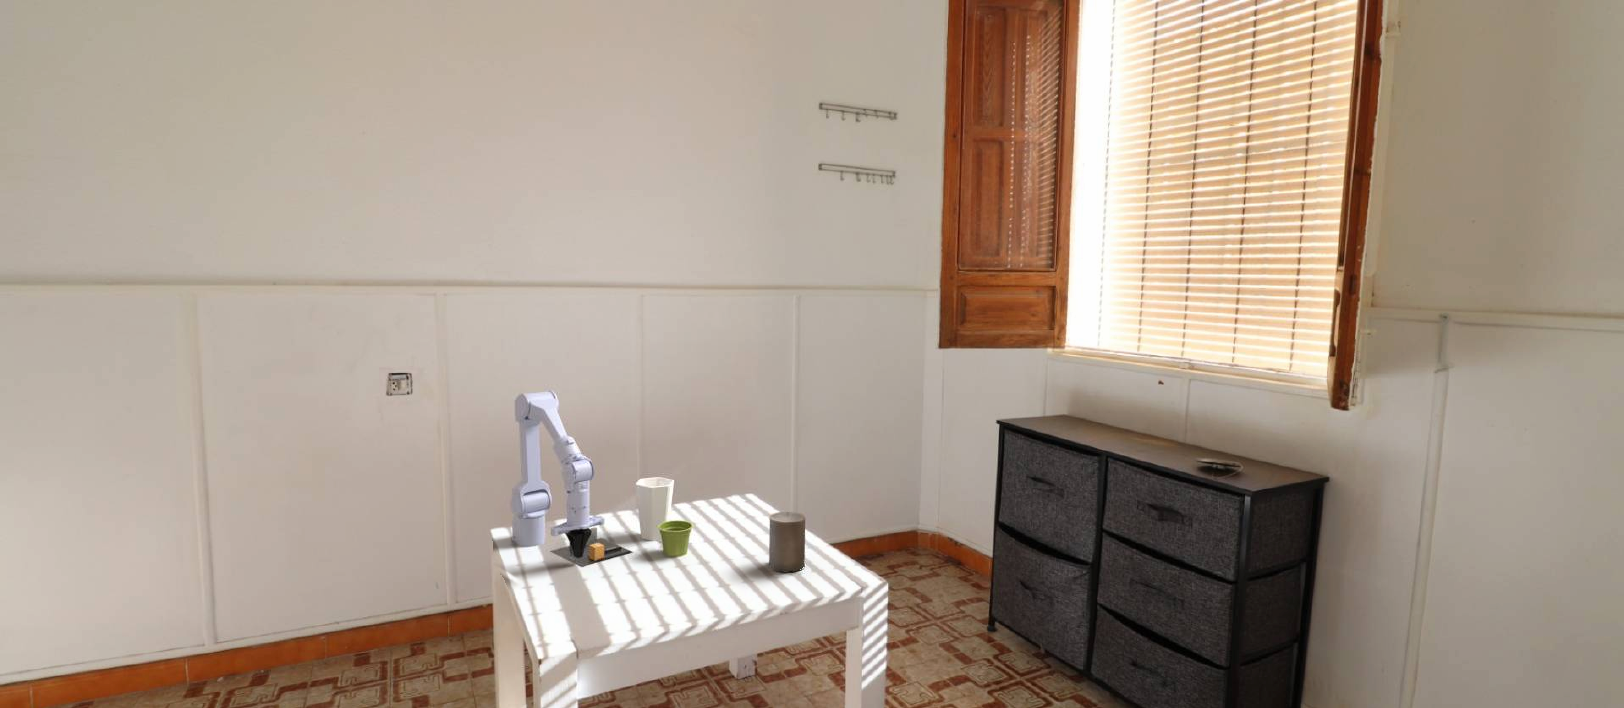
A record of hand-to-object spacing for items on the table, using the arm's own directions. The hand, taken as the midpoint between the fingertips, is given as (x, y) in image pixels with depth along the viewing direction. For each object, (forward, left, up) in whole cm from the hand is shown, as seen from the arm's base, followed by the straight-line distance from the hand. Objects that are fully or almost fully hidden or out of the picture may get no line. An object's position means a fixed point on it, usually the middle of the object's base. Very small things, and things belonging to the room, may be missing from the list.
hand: (578, 556), depth 207 cm
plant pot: (+10, +23, -3) cm, 26 cm away
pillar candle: (+36, +40, -3) cm, 55 cm away
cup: (-5, +27, -3) cm, 28 cm away
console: (-6, +7, -3) cm, 10 cm away
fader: (0, +5, -2) cm, 6 cm away
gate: (-11, +9, -2) cm, 14 cm away
